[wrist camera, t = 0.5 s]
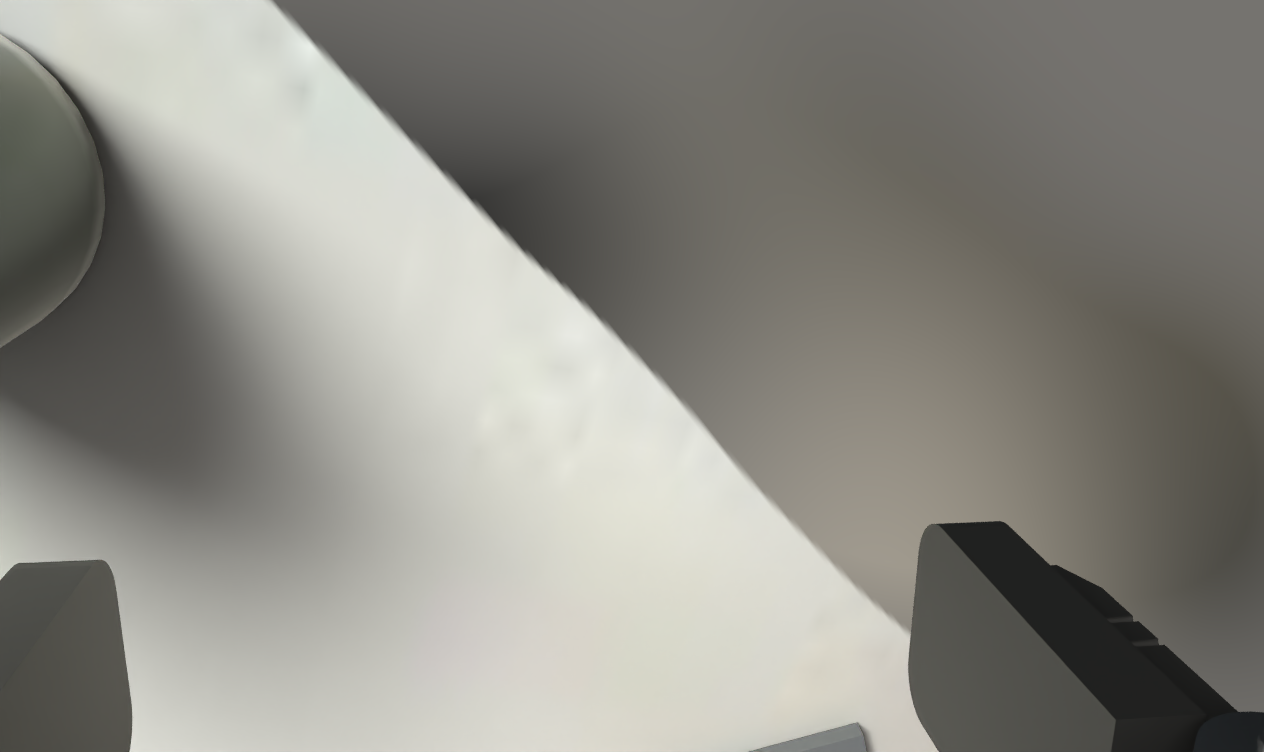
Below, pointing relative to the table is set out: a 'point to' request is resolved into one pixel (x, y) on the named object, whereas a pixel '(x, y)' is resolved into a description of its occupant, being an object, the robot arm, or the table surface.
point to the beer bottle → (42, 193)
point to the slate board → (824, 742)
